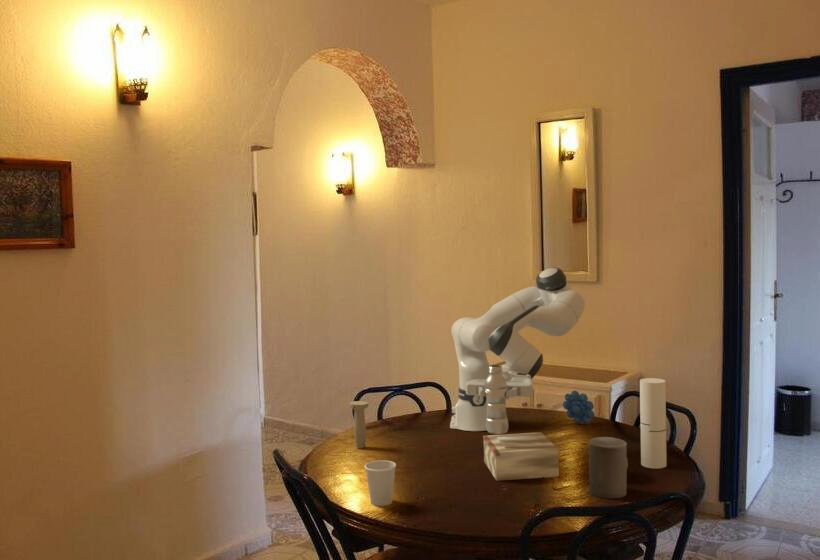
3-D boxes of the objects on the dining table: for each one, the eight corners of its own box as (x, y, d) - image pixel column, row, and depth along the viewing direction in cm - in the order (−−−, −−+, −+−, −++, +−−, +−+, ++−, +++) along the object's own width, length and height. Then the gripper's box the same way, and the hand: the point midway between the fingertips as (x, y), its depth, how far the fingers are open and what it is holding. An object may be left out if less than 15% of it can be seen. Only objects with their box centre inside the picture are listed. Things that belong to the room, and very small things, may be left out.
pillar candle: (586, 496, 198) (586, 440, 197) (591, 484, 207) (591, 430, 206) (625, 500, 194) (625, 443, 193) (628, 488, 203) (628, 433, 202)
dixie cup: (361, 499, 201) (360, 462, 201) (391, 494, 204) (389, 458, 204) (371, 510, 194) (370, 471, 193) (402, 504, 197) (400, 466, 196)
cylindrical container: (648, 459, 227) (647, 377, 226) (670, 464, 222) (669, 380, 221) (636, 465, 222) (635, 381, 221) (659, 470, 217) (658, 384, 216)
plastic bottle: (507, 437, 218) (505, 368, 216) (484, 436, 219) (482, 368, 218) (509, 430, 224) (508, 364, 222) (487, 430, 225) (485, 363, 224)
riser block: (483, 461, 231) (483, 434, 230) (541, 457, 232) (541, 431, 232) (496, 480, 213) (495, 451, 212) (558, 476, 214) (558, 447, 214)
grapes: (559, 425, 270) (558, 391, 270) (565, 420, 276) (564, 388, 275) (590, 428, 264) (590, 394, 264) (596, 424, 270) (596, 390, 269)
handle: (363, 450, 246) (361, 405, 245) (348, 448, 250) (346, 403, 249) (372, 447, 250) (371, 402, 249) (357, 444, 254) (356, 400, 253)
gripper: (469, 373, 236) (460, 382, 222) (535, 374, 230) (530, 384, 217) (470, 393, 236) (460, 403, 223) (536, 395, 231) (530, 405, 217)
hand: (495, 394), depth 220 cm, fingers closed on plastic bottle, 6 cm apart
